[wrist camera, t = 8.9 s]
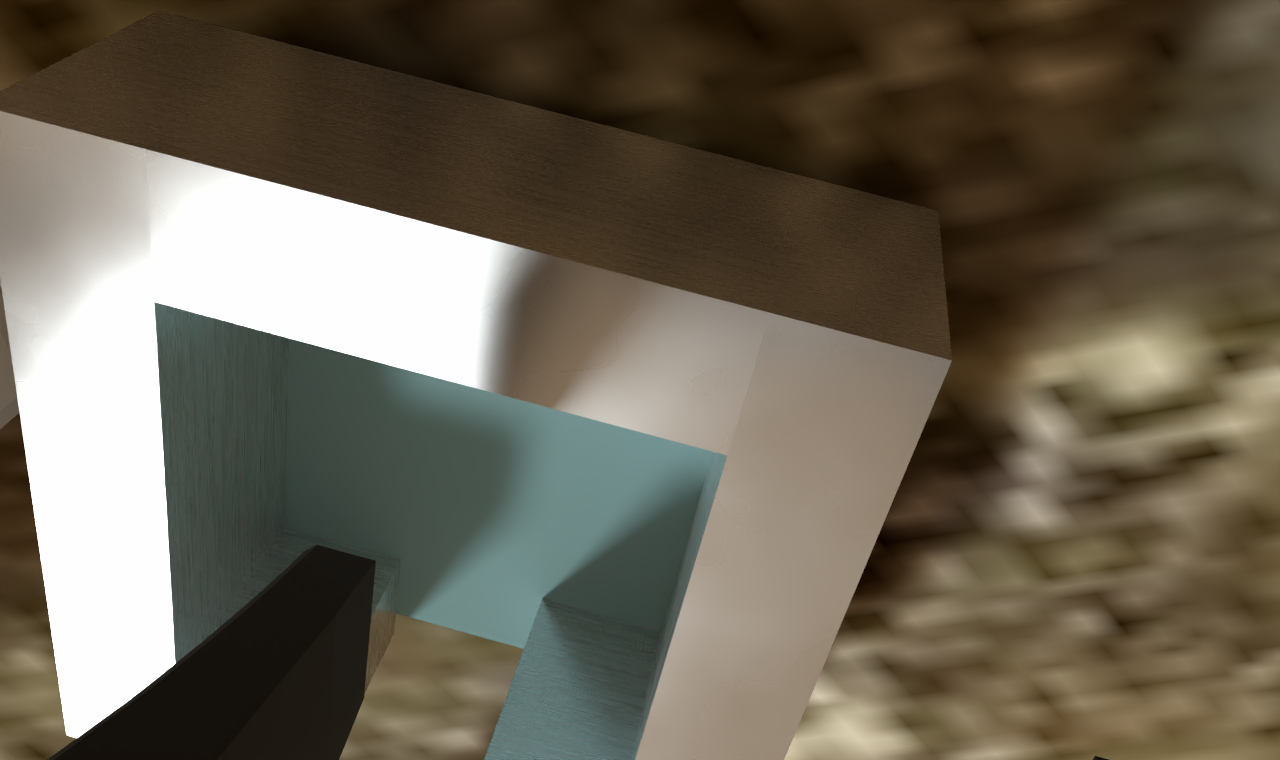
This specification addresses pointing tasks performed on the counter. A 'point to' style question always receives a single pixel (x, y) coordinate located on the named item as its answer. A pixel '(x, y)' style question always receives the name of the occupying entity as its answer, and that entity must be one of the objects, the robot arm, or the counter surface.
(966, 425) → the counter surface
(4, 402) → the eye dropper bottle
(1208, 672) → the counter surface
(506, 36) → the counter surface
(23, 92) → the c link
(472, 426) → the mat
